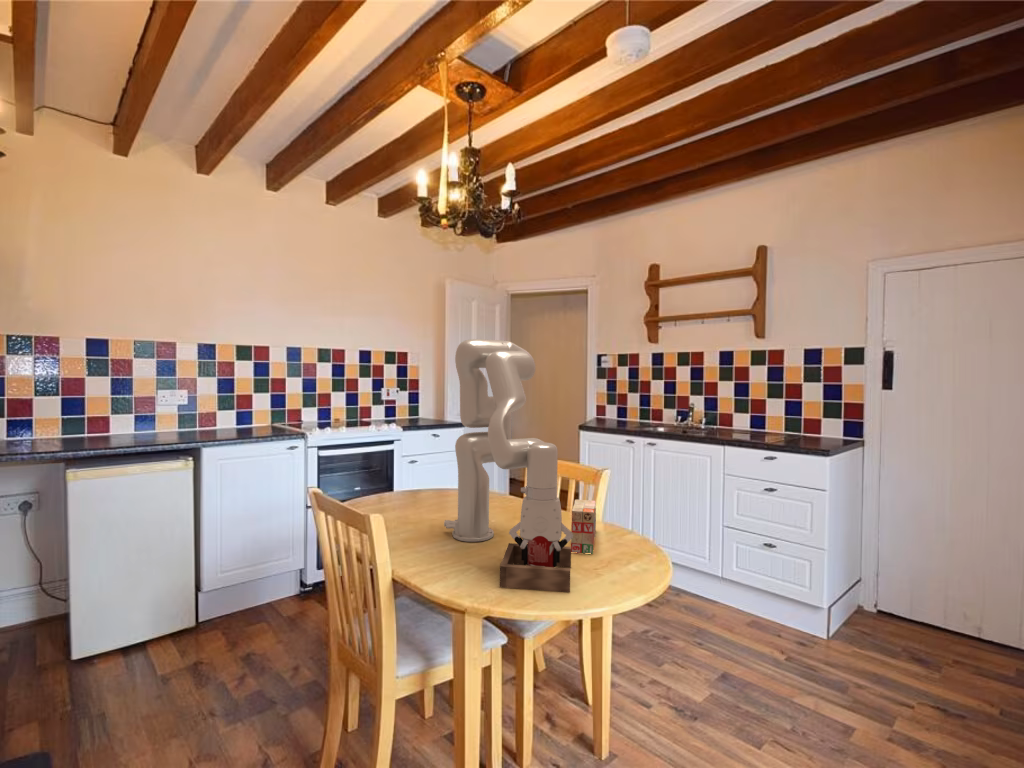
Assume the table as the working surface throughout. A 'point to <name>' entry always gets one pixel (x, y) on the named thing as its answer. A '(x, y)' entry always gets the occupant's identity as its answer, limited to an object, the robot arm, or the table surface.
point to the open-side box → (534, 572)
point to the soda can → (540, 552)
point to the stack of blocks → (583, 526)
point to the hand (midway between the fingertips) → (540, 563)
